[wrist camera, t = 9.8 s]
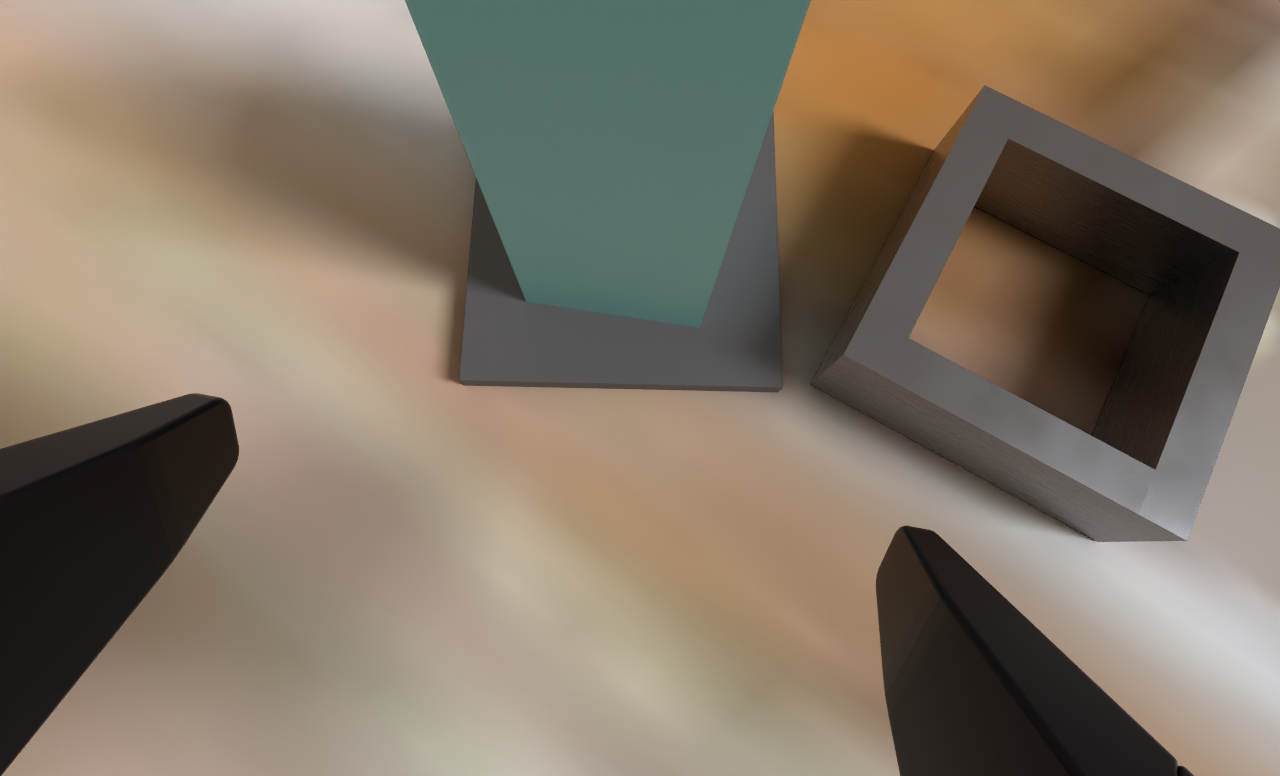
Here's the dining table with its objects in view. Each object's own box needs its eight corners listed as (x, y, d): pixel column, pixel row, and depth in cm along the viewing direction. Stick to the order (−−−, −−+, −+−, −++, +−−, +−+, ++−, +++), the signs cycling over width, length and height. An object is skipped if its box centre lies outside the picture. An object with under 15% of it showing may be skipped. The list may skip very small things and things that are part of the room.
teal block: (699, 327, 19) (820, -28, 7) (526, 301, 19) (368, -91, 7) (720, 172, 20) (852, -350, 8) (557, 148, 20) (463, -402, 8)
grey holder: (1097, 541, 18) (1186, 540, 15) (810, 383, 19) (843, 354, 16) (1200, 282, 20) (1297, 237, 17) (935, 149, 21) (984, 85, 18)
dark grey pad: (464, 385, 19) (459, 380, 18) (486, 109, 21) (482, 97, 20) (777, 392, 19) (782, 387, 19) (769, 118, 21) (773, 106, 21)
